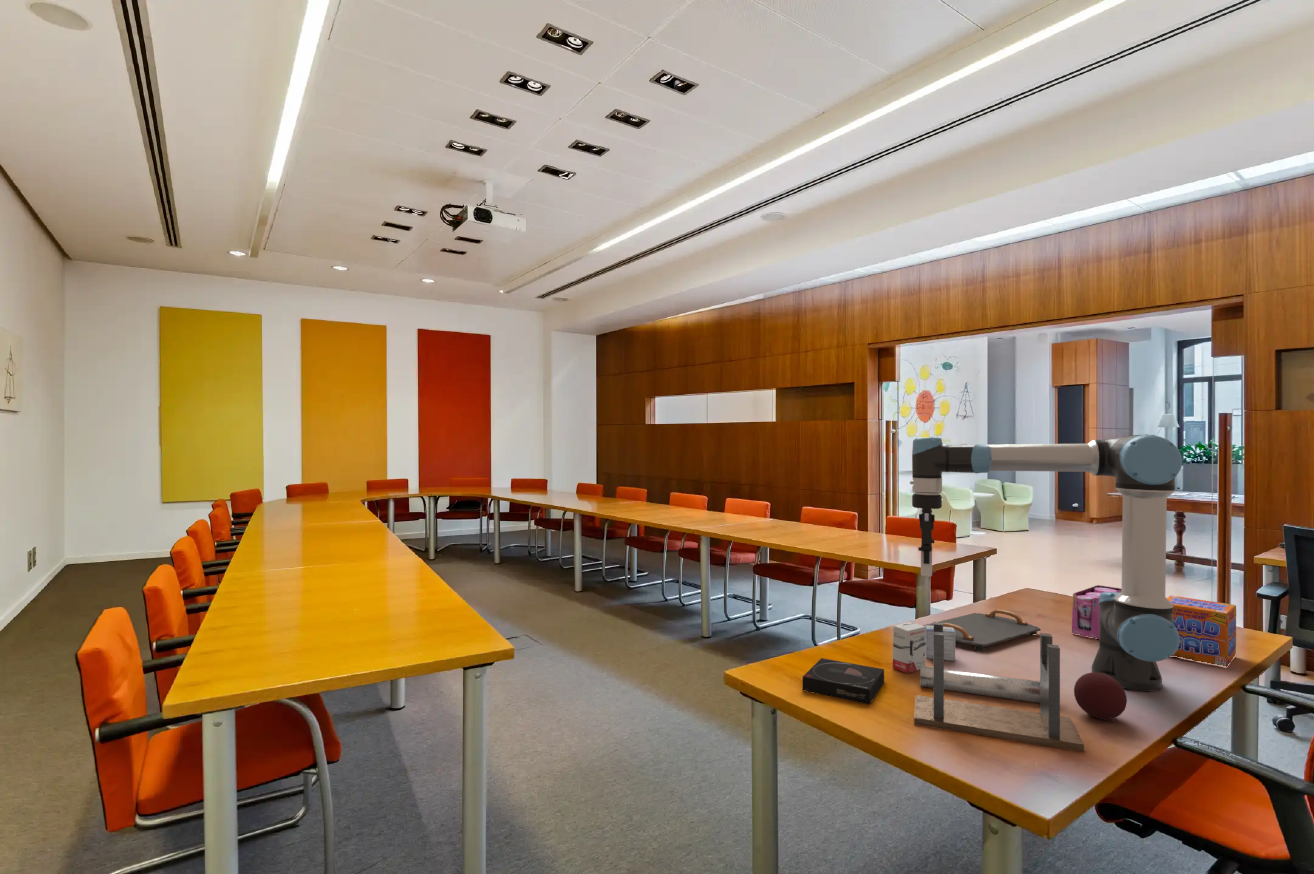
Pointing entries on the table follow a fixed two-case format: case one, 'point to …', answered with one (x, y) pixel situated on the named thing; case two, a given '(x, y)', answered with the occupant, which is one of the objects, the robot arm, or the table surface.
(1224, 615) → the game box
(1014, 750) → the table surface
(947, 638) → the medicine box
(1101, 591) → the gum box
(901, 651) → the ink box
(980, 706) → the bracket rack
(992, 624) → the serving board
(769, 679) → the table surface
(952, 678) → the steel rod
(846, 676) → the portable cd player
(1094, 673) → the decorative ball
